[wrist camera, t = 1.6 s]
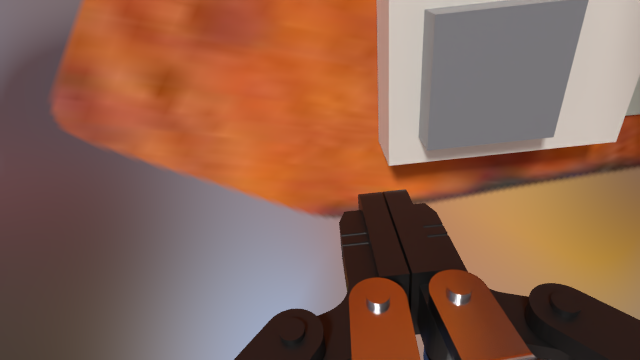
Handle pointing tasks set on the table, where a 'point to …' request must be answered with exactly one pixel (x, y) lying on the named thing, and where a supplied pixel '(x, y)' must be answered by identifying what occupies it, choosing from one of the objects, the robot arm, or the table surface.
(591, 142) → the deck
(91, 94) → the table surface
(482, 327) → the robot arm
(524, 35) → the grey block
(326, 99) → the table surface
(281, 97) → the table surface
